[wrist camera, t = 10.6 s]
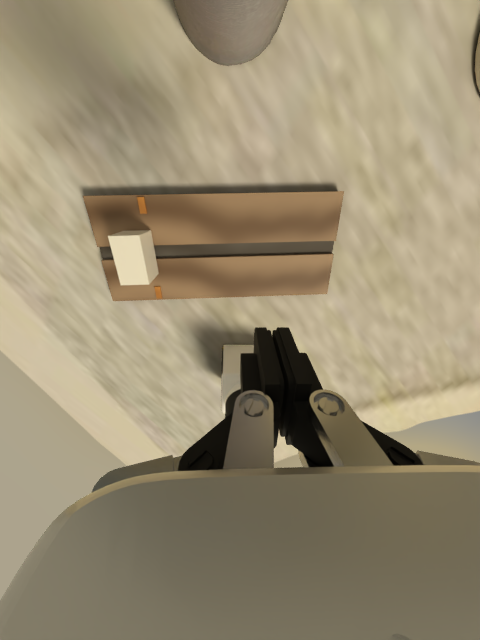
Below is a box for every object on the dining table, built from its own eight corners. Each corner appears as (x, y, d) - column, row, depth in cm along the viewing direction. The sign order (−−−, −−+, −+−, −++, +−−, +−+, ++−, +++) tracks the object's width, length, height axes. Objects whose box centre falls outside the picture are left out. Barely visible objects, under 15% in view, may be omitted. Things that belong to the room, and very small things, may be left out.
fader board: (90, 195, 26) (81, 195, 25) (338, 191, 27) (344, 191, 26) (117, 296, 32) (112, 301, 30) (322, 289, 33) (327, 294, 31)
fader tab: (125, 230, 27) (107, 236, 23) (152, 229, 27) (139, 235, 23) (135, 273, 29) (120, 285, 25) (159, 272, 29) (149, 284, 25)
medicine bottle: (222, 343, 36) (220, 404, 26) (268, 344, 37) (285, 404, 26) (222, 379, 39) (220, 447, 29) (264, 379, 40) (278, 445, 29)
